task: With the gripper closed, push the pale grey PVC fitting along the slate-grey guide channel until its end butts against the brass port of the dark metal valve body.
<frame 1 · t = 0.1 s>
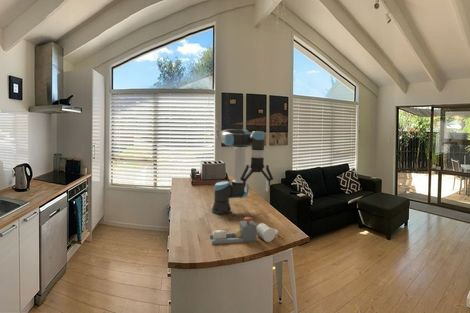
hand: (256, 191, 165), 28 cm above the table, fingers open, 13 cm apart
mug: (267, 238, 165), on the table
fitting: (219, 240, 158), point 1 cm above the table, touching valve rig
valve rig: (232, 241, 159), on the table
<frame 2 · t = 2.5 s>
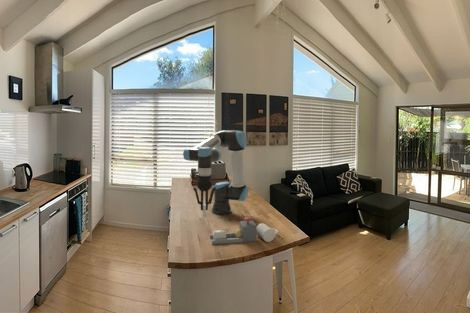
hand: (204, 215, 154), 16 cm above the table, fingers closed
nothing on the table moved.
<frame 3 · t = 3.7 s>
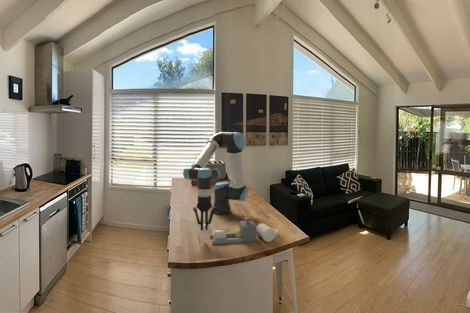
hand: (204, 235, 155), 5 cm above the table, fingers closed
nothing on the table moved.
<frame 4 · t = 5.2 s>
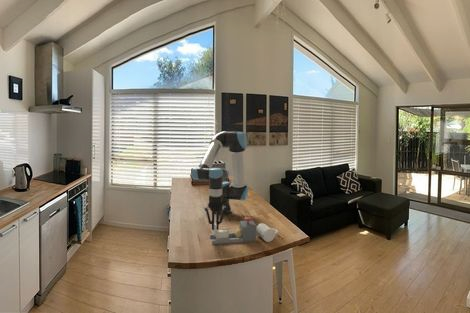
hand: (215, 234, 157), 4 cm above the table, fingers closed
fitting: (222, 239, 158), point 1 cm above the table, touching gripper
everything else where it was.
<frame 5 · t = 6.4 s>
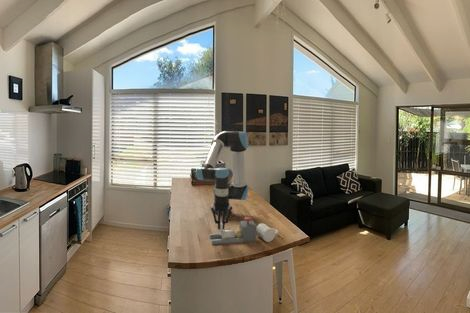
hand: (220, 234, 157), 4 cm above the table, fingers closed
fitting: (227, 239, 159), point 1 cm above the table, touching gripper, valve rig
everything else where it was.
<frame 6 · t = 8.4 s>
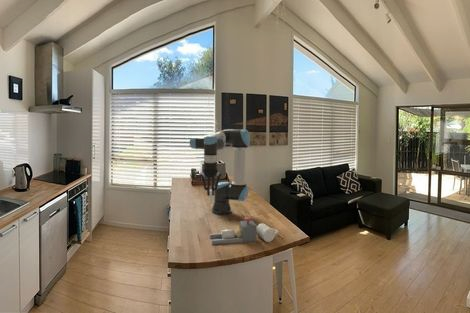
hand: (210, 200, 162), 23 cm above the table, fingers closed
fitting: (227, 239, 159), point 1 cm above the table, tilted 17°, touching valve rig
everything else where it was.
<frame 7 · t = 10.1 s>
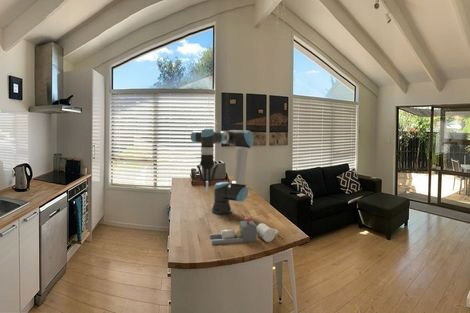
hand: (206, 191, 168), 26 cm above the table, fingers closed
fitting: (227, 239, 159), point 1 cm above the table, tilted 12°, touching valve rig
everything else where it was.
at the end: fitting 0.2 cm from the target spot, point 1.2 cm above the table; fitting tilted 13° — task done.
